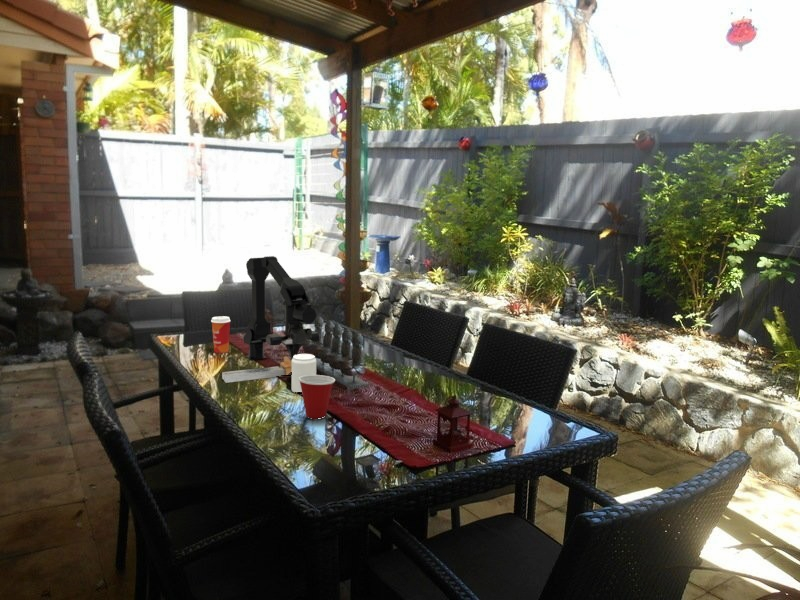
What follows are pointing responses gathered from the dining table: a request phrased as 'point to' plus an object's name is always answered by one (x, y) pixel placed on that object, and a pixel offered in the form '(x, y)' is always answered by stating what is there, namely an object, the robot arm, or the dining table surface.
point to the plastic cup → (316, 394)
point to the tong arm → (247, 370)
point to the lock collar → (287, 365)
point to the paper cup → (221, 333)
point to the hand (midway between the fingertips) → (293, 360)
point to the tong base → (254, 375)
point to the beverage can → (302, 369)
